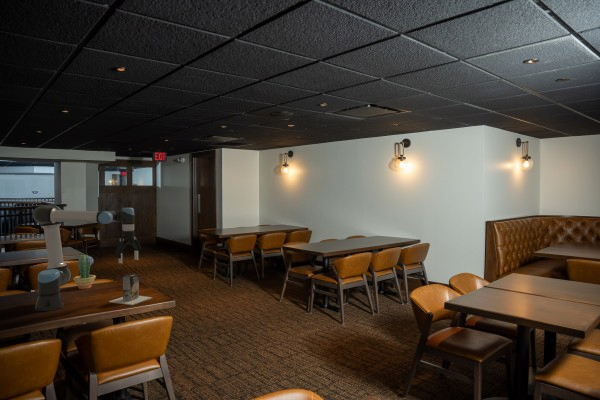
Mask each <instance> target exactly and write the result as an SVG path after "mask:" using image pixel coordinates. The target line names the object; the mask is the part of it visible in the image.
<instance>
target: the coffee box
mask: <svg viewBox="0 0 600 400" xmlns="http://www.w3.org/2000/svg"><path fill="white" fill-rule="evenodd" d="M139 277H140V274H137V273H133V274H132V273H131V274H128V275H124V276H122V297H123V301H132V300H135V299H137V298H139V296H140V293H139V292H140V289H139V287H140V286H139V284H140V282H139V279H140V278H139Z"/></svg>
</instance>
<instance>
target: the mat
mask: <svg viewBox="0 0 600 400" xmlns="http://www.w3.org/2000/svg"><path fill="white" fill-rule="evenodd" d="M151 299H153V296H152V297H151V296H145V295H139V298H137V299H135V300H132V301H123V296H121V297H119V298H115V299H112V300H109V301H108V303H111V304H112V303H113V304H121V305H126V306H127V305H128V306H134V305H137V304H140V303H142V302H145V301H148V300H151Z"/></svg>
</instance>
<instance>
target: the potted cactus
mask: <svg viewBox="0 0 600 400" xmlns="http://www.w3.org/2000/svg"><path fill="white" fill-rule="evenodd" d="M77 263H78V268H79V274H80V275H78V276H74V277H73V278H72V279H73V281H74V283H75V284H76V286H77V288H78V289H79V290H84V289H89V288H92V285H93V283H94V281H95V279H96V277H97V275H96V274H95V275H94V274H90V269H91V265H93V264H94V258H93V257H92V256H90V255H88V254H81V255H80V257H79V258H78V259H77Z"/></svg>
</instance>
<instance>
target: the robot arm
mask: <svg viewBox="0 0 600 400" xmlns="http://www.w3.org/2000/svg"><path fill="white" fill-rule="evenodd" d="M32 218H33V220H34V221H35V222H36V223H37V224H40V227H41V228H42V229H43V231H44V239H45V240H44V241H45V246H46V252H47V253H46V255H47V261H48V266H46V269H45V270H42V271H40V272H38V274H37V291H38V292H37V295H38V296H37V299H36V303H35V307H34V310H35V311H36V312H48V311H54V310H58V309H59V310H60V309H61V308H63V307H64V301H63V298H62V296H61V286H64V285H66V284H67V283H68V282H69V281H70V279H71V271H70V269H69V268H68V264H67V263H66V262H65V261H64V255H63V254H64V253H63V247H62V239H61V232H60V230H61V229H60V226H61V225H62V223H85V224H87V223H88V224H96V223H97V224H104V225H107V224H111V223H122V225H121V226H122V232H121V234H122V238H118V243H117V246H116V247H115V248H116V249H115V250H114V252H115V254H117V259H118V264H123V251H124V249H125V248H126V246H127V245H131V246H132V248H134V252H133V253H134V261H139V255H140V253H139V251H141V250H142V246H141V245H140V242H139V239H138V236H135V209H134V208H133V207H122V209H121V210H105V211H95V210H93V211H92V210H74V209H73V210H72V209H69V210H68V209H61V208H60V207H59V206H57V205H54V204H48V205H46V204H45V205H40V206H37V207H36V208H35V209H34V210H33V212H32Z"/></svg>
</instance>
